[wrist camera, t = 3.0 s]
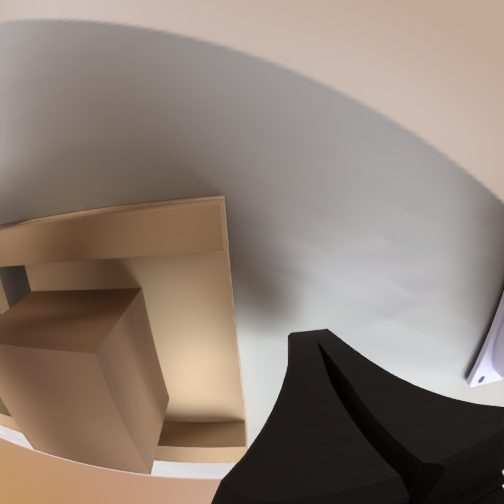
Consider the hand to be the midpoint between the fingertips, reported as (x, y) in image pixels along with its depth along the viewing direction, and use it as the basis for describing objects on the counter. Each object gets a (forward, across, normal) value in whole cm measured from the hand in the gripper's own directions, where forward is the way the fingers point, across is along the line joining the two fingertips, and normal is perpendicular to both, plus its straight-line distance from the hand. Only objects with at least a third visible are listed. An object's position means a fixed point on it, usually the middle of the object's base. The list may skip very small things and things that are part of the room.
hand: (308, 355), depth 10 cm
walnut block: (+1, +8, 0) cm, 8 cm away
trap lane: (+2, +12, 0) cm, 12 cm away
